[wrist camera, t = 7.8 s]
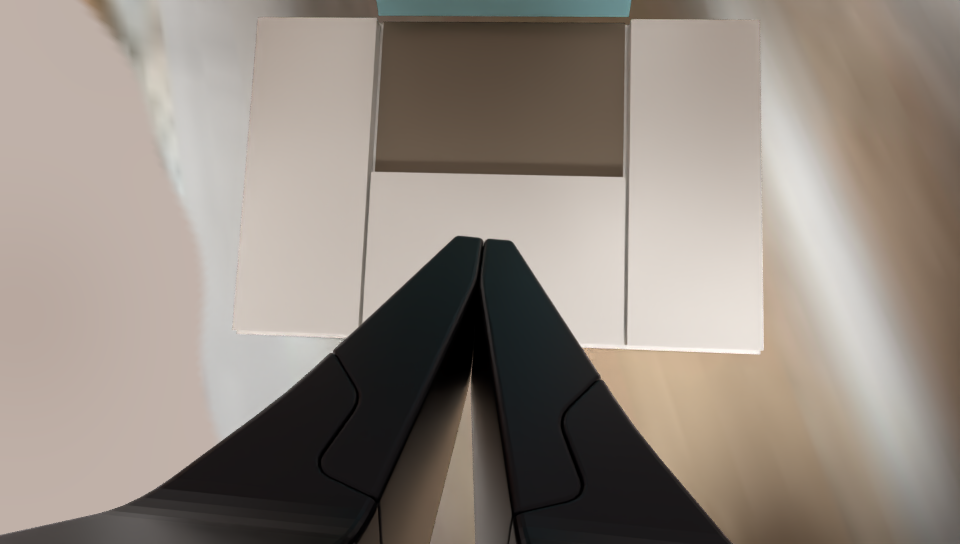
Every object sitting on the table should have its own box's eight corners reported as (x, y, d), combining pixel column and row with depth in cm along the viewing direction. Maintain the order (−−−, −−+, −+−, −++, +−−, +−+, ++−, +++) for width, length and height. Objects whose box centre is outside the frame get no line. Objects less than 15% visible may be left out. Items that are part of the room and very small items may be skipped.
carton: (723, 352, 19) (767, 354, 16) (274, 335, 20) (224, 333, 17) (722, 72, 20) (763, 16, 17) (294, 67, 21) (251, 13, 18)
